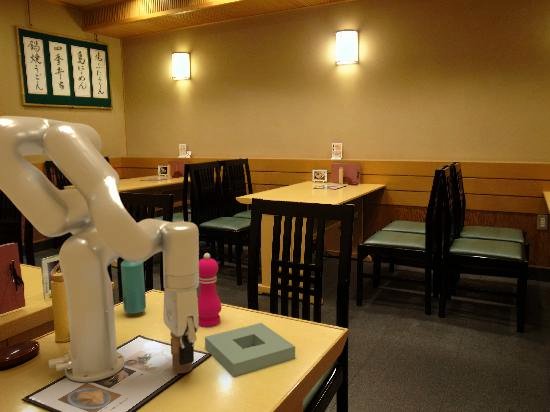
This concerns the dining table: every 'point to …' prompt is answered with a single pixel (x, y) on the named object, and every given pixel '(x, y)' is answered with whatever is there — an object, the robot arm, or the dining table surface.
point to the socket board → (243, 361)
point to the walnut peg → (175, 356)
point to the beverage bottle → (133, 287)
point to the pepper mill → (208, 293)
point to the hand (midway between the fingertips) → (182, 357)
